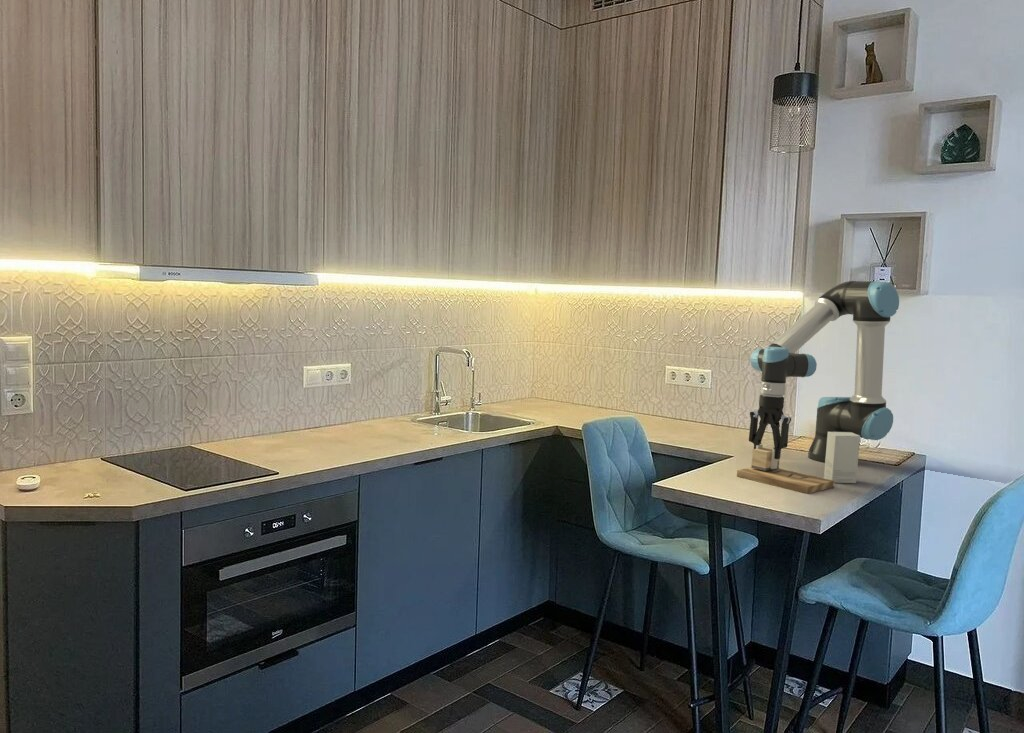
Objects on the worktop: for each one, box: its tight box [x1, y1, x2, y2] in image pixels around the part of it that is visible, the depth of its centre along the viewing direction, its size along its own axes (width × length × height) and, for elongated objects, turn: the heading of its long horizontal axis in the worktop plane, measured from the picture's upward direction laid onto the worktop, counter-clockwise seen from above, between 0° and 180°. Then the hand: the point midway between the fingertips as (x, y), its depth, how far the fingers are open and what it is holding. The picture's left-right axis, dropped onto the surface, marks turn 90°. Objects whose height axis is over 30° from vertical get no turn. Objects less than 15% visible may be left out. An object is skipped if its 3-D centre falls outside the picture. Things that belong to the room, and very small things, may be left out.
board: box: [736, 467, 835, 495], centre depth 247 cm, size 16×24×2 cm, turn 41°
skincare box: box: [823, 432, 861, 484], centre depth 251 cm, size 8×7×16 cm
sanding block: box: [750, 446, 781, 471], centre depth 253 cm, size 8×5×6 cm, turn 131°
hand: (765, 466), depth 254 cm, fingers closed on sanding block, 5 cm apart
